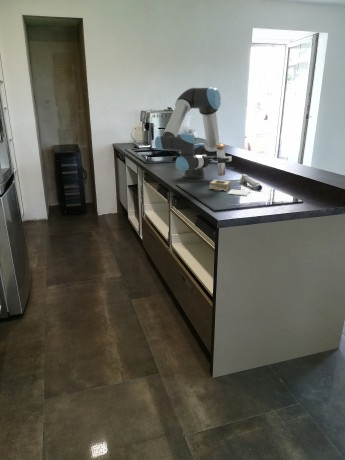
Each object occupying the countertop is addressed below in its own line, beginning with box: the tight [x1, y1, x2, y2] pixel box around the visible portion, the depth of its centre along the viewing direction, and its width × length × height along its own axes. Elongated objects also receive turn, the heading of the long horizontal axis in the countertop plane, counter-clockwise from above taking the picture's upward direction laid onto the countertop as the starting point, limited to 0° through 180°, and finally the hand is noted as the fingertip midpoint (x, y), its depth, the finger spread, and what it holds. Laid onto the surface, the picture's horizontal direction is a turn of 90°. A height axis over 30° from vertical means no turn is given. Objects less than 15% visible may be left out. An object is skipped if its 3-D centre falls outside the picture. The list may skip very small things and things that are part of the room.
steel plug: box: [216, 143, 226, 177], centre depth 208 cm, size 5×5×18 cm
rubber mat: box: [227, 188, 251, 197], centre depth 203 cm, size 11×11×1 cm
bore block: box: [209, 179, 232, 192], centre depth 213 cm, size 11×11×4 cm
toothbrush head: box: [239, 173, 263, 192], centre depth 221 cm, size 5×7×25 cm
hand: (227, 158), depth 211 cm, fingers closed on steel plug, 4 cm apart
